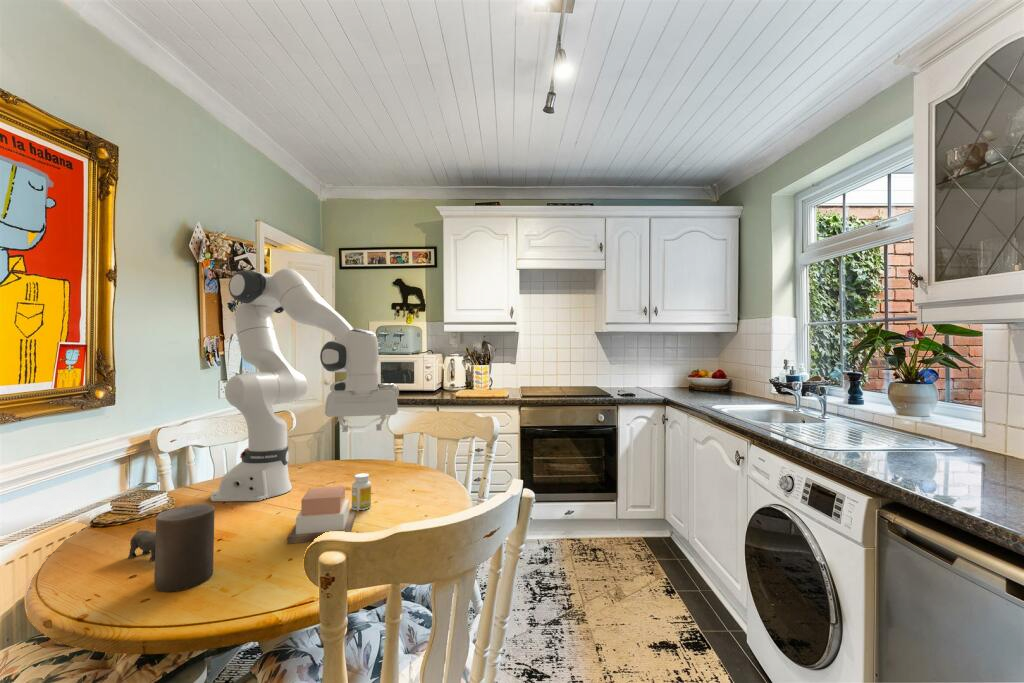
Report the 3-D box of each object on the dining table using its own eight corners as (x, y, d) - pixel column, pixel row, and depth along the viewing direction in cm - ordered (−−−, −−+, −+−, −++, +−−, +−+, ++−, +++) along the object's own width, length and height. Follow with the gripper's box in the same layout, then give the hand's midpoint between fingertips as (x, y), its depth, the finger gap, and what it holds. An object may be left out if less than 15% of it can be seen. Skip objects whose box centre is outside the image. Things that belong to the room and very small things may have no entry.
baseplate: (287, 543, 107) (287, 537, 107) (300, 521, 120) (300, 515, 120) (349, 538, 110) (349, 532, 110) (355, 517, 123) (355, 511, 123)
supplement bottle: (348, 511, 128) (349, 477, 128) (355, 504, 133) (355, 472, 133) (367, 511, 128) (367, 477, 128) (373, 504, 133) (373, 472, 133)
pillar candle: (200, 589, 86) (202, 511, 87) (142, 595, 84) (144, 515, 85) (221, 566, 96) (223, 495, 96) (170, 570, 94) (172, 498, 94)
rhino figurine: (177, 565, 96) (177, 537, 96) (123, 560, 98) (123, 532, 98) (193, 556, 100) (193, 529, 100) (141, 551, 102) (141, 525, 102)
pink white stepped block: (295, 534, 108) (296, 501, 108) (305, 517, 119) (305, 487, 119) (343, 530, 111) (344, 497, 111) (348, 514, 122) (349, 484, 122)
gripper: (399, 382, 137) (398, 427, 136) (327, 383, 132) (327, 430, 131) (398, 384, 130) (398, 431, 130) (324, 385, 125) (323, 434, 125)
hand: (362, 431), depth 131 cm, fingers open, 8 cm apart
